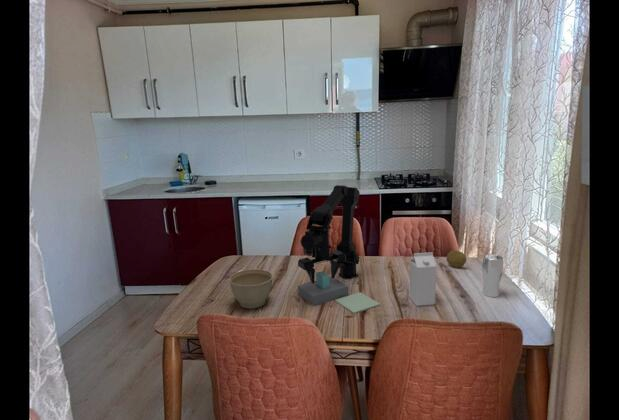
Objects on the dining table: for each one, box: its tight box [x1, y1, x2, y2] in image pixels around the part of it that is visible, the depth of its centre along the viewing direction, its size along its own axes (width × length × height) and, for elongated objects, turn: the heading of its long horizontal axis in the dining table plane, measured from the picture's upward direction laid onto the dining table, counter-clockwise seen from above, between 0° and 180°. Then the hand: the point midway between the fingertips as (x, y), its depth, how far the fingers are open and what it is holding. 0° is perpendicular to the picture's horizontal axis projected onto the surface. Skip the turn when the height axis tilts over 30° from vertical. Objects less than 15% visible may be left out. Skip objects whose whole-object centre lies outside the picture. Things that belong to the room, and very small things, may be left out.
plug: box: [315, 270, 330, 289], centre depth 146 cm, size 3×5×9 cm, turn 29°
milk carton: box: [409, 251, 437, 307], centre depth 136 cm, size 7×7×19 cm
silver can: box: [481, 253, 504, 298], centre depth 141 cm, size 7×7×15 cm
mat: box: [334, 291, 381, 315], centre depth 139 cm, size 12×12×1 cm
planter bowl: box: [228, 268, 274, 310], centre depth 141 cm, size 16×16×11 cm
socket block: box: [297, 276, 350, 307], centre depth 146 cm, size 16×12×4 cm
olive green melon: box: [446, 249, 467, 269], centre depth 169 cm, size 7×8×8 cm
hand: (322, 280), depth 145 cm, fingers open, 9 cm apart
